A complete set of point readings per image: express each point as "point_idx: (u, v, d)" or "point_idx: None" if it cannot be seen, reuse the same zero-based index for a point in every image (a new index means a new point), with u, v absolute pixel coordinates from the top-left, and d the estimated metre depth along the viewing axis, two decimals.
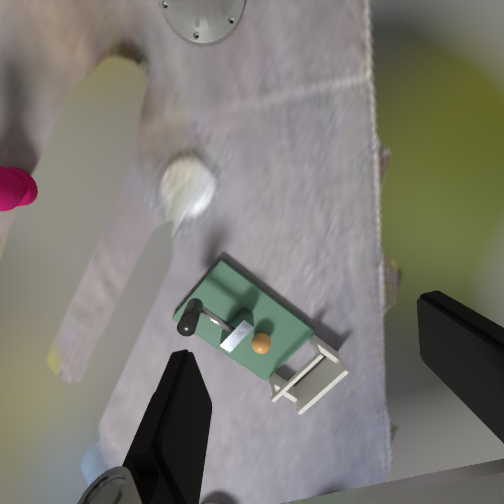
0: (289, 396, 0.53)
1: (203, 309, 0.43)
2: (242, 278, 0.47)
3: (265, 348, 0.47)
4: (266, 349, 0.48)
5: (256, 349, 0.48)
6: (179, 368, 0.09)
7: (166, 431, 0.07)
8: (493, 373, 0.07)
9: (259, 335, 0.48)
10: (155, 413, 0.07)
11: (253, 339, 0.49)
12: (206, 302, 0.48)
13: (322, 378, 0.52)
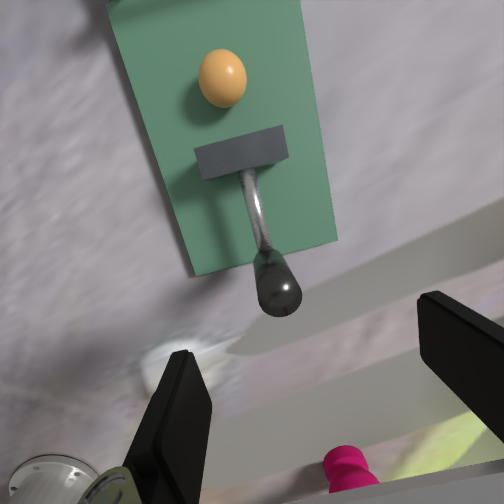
0: None
1: (259, 249, 0.21)
2: (182, 228, 0.26)
3: (210, 66, 0.19)
4: (212, 60, 0.19)
5: (233, 78, 0.19)
6: (179, 368, 0.09)
7: (166, 431, 0.07)
8: (493, 373, 0.07)
9: (213, 103, 0.21)
10: (155, 413, 0.07)
11: (230, 103, 0.21)
12: None
13: None
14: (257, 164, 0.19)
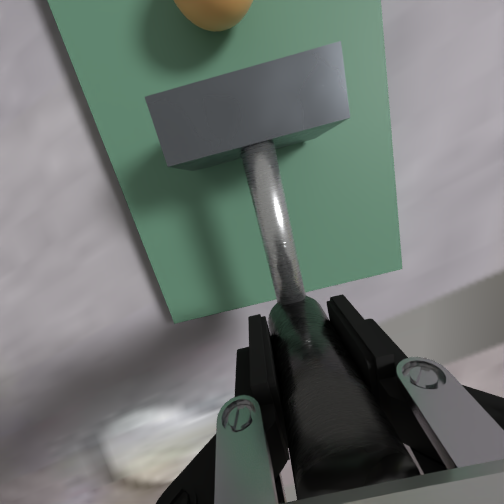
0: None
1: (281, 300, 0.11)
2: (149, 250, 0.16)
3: None
4: None
5: None
6: (261, 327, 0.10)
7: (273, 370, 0.08)
8: (359, 364, 0.08)
9: (192, 15, 0.10)
10: (258, 358, 0.08)
11: (227, 16, 0.10)
12: None
13: None
14: (282, 133, 0.09)
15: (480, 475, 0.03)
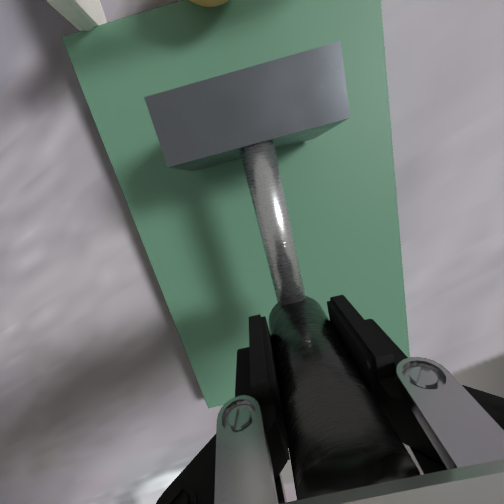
0: None
1: (281, 300, 0.11)
2: (189, 351, 0.18)
3: (203, 5, 0.11)
4: (208, 1, 0.11)
5: None
6: (261, 327, 0.10)
7: (273, 370, 0.08)
8: (359, 364, 0.08)
9: None
10: (258, 358, 0.08)
11: None
12: None
13: None
14: (282, 133, 0.09)
15: (480, 475, 0.03)
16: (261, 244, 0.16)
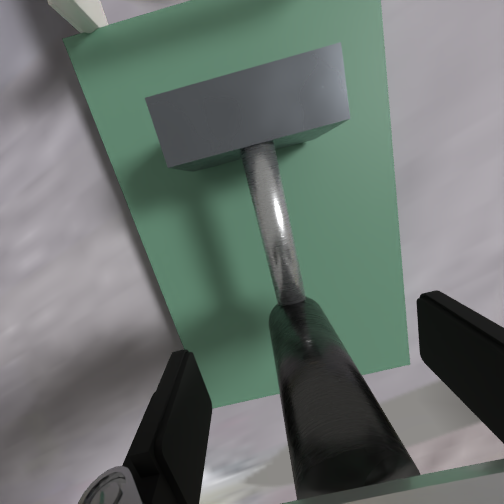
0: None
1: (281, 300, 0.11)
2: None
3: None
4: None
5: None
6: (179, 368, 0.09)
7: (166, 431, 0.07)
8: (493, 373, 0.07)
9: None
10: (155, 413, 0.07)
11: None
12: None
13: None
14: (282, 134, 0.09)
15: (480, 475, 0.03)
16: (261, 246, 0.16)
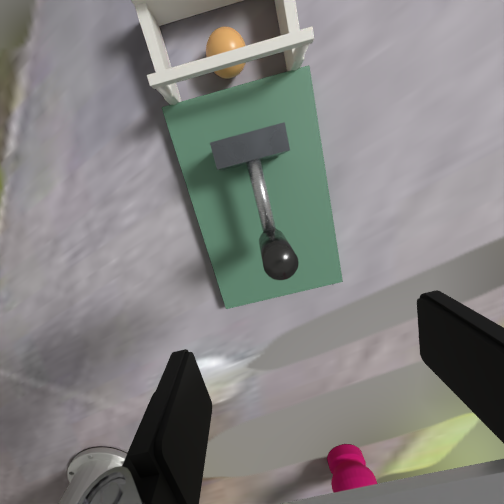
0: None
1: (264, 229, 0.25)
2: (216, 272, 0.32)
3: None
4: None
5: (238, 67, 0.24)
6: (179, 368, 0.09)
7: (166, 431, 0.07)
8: (493, 373, 0.07)
9: None
10: (155, 413, 0.07)
11: None
12: None
13: None
14: (263, 156, 0.23)
15: (480, 475, 0.03)
16: (256, 210, 0.29)
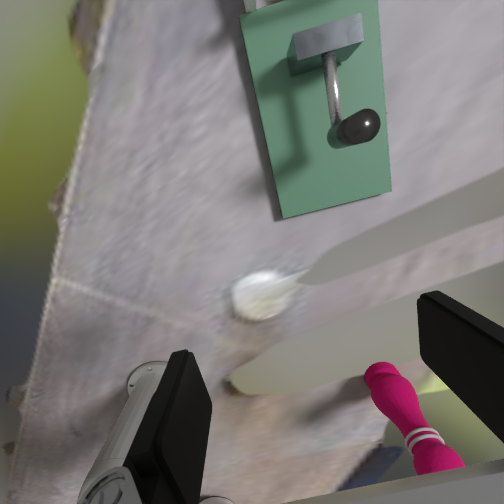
0: None
1: (334, 122, 0.28)
2: (277, 181, 0.35)
3: None
4: None
5: None
6: (179, 368, 0.09)
7: (166, 431, 0.07)
8: (493, 373, 0.07)
9: None
10: (155, 413, 0.07)
11: None
12: (338, 182, 0.35)
13: None
14: (339, 47, 0.26)
15: (480, 475, 0.03)
16: (318, 118, 0.32)
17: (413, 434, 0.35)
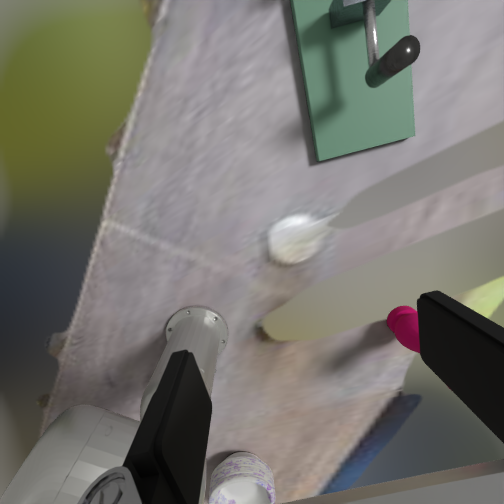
0: None
1: (372, 62, 0.33)
2: (315, 125, 0.39)
3: None
4: None
5: None
6: (179, 368, 0.09)
7: (166, 431, 0.07)
8: (493, 373, 0.07)
9: None
10: (155, 413, 0.07)
11: None
12: (368, 126, 0.40)
13: None
14: None
15: (480, 475, 0.03)
16: (353, 67, 0.37)
17: None
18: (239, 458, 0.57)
